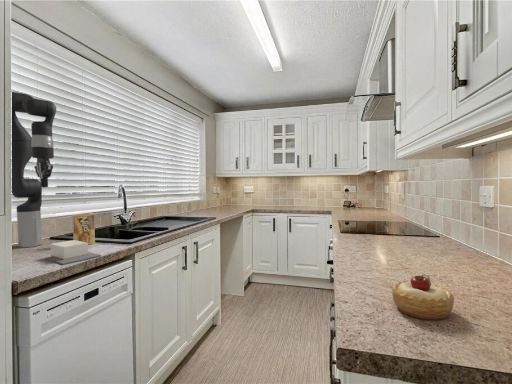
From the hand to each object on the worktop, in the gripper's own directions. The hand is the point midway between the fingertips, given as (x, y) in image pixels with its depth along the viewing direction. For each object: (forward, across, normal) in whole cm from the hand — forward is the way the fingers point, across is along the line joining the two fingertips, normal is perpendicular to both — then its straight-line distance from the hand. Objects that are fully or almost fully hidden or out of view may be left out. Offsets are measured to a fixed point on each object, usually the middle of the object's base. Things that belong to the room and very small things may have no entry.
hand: (44, 187), depth 121 cm
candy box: (+29, -6, +18) cm, 35 cm away
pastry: (+29, +139, +22) cm, 144 cm away
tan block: (+26, +8, +3) cm, 27 cm away
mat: (+29, +17, +3) cm, 34 cm away
